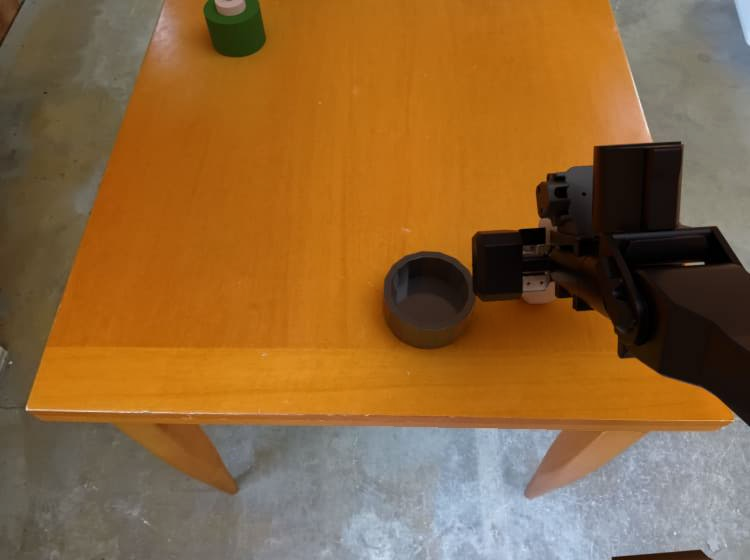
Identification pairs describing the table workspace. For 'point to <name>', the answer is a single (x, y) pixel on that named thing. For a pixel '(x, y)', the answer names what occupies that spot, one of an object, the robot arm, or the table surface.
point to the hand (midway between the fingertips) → (545, 245)
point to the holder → (428, 299)
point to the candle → (235, 26)
